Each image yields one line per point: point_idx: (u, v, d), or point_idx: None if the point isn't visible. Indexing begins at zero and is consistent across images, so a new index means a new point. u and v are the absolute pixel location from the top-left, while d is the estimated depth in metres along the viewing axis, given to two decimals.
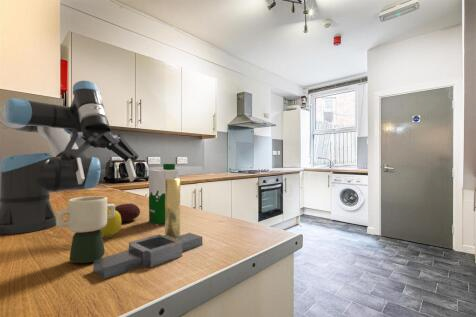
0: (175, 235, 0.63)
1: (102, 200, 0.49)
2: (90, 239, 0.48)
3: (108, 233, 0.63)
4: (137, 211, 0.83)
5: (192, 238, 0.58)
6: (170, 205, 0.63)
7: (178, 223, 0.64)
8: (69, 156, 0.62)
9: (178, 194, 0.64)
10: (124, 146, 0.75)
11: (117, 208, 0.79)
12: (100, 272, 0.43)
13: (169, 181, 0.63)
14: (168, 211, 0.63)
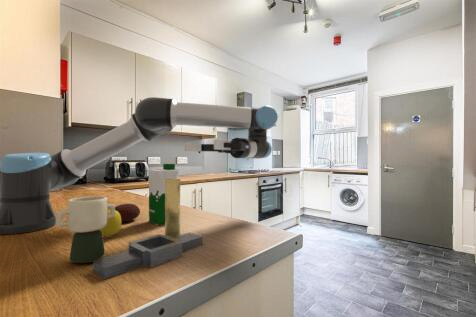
0: (175, 235, 0.63)
1: (102, 200, 0.49)
2: (90, 239, 0.48)
3: (108, 233, 0.63)
4: (137, 211, 0.83)
5: (192, 238, 0.58)
6: (170, 205, 0.63)
7: (178, 223, 0.64)
8: (235, 147, 0.72)
9: (178, 194, 0.64)
10: None
11: (117, 208, 0.79)
12: (100, 272, 0.43)
13: (169, 181, 0.63)
14: (168, 211, 0.63)
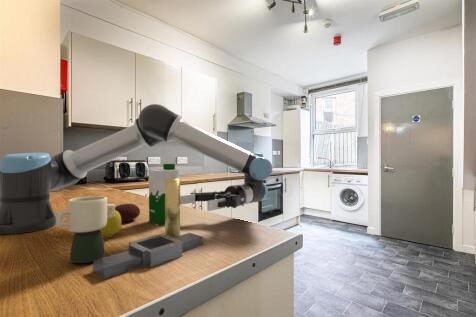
0: (175, 235, 0.63)
1: (102, 200, 0.49)
2: (90, 239, 0.48)
3: (108, 233, 0.63)
4: (137, 211, 0.83)
5: (192, 238, 0.58)
6: (170, 205, 0.63)
7: (178, 223, 0.64)
8: (230, 205, 0.70)
9: (178, 194, 0.64)
10: None
11: (117, 208, 0.79)
12: (100, 272, 0.43)
13: (169, 181, 0.63)
14: (168, 211, 0.63)
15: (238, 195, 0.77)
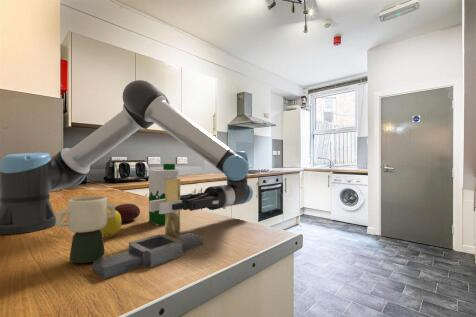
0: (175, 235, 0.63)
1: (102, 200, 0.49)
2: (90, 239, 0.48)
3: (108, 233, 0.63)
4: (137, 211, 0.83)
5: (192, 238, 0.58)
6: None
7: (178, 223, 0.64)
8: (187, 208, 0.64)
9: (178, 194, 0.64)
10: None
11: (117, 208, 0.79)
12: (100, 272, 0.43)
13: (169, 181, 0.63)
14: None
15: None
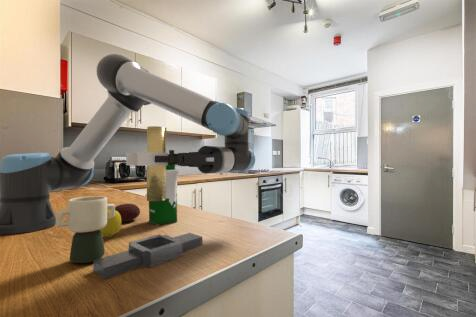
0: (159, 196, 0.51)
1: (102, 200, 0.49)
2: (90, 239, 0.48)
3: (108, 233, 0.63)
4: (137, 211, 0.83)
5: (192, 238, 0.58)
6: None
7: (163, 181, 0.52)
8: (174, 162, 0.51)
9: (163, 145, 0.52)
10: None
11: (117, 208, 0.79)
12: (100, 272, 0.43)
13: (152, 128, 0.51)
14: (150, 166, 0.51)
15: None
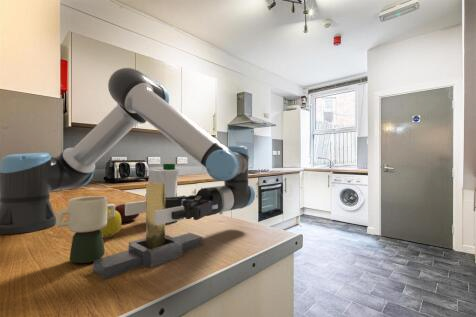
0: None
1: (102, 200, 0.49)
2: (90, 239, 0.48)
3: (108, 233, 0.63)
4: None
5: (192, 238, 0.58)
6: (152, 216, 0.50)
7: (162, 238, 0.51)
8: None
9: (162, 202, 0.51)
10: None
11: (117, 208, 0.79)
12: (100, 272, 0.43)
13: (151, 186, 0.50)
14: (150, 224, 0.50)
15: (210, 201, 0.57)
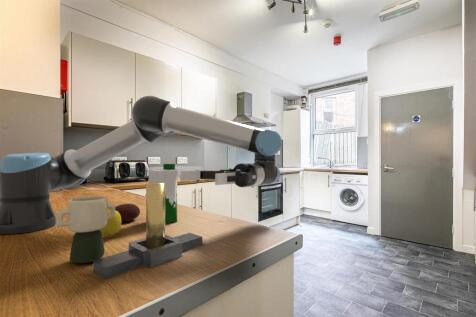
0: None
1: (102, 200, 0.49)
2: (90, 239, 0.48)
3: (108, 233, 0.63)
4: (137, 211, 0.83)
5: (192, 238, 0.58)
6: (152, 216, 0.50)
7: (162, 238, 0.52)
8: (241, 181, 0.61)
9: (162, 202, 0.52)
10: None
11: (117, 208, 0.79)
12: (100, 272, 0.43)
13: (150, 186, 0.51)
14: (150, 224, 0.50)
15: None
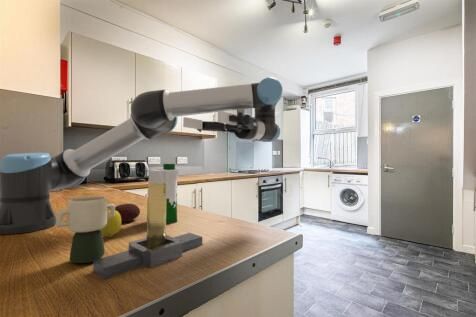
0: None
1: (102, 200, 0.49)
2: (90, 239, 0.48)
3: (108, 233, 0.63)
4: (137, 211, 0.83)
5: (192, 238, 0.58)
6: (153, 215, 0.50)
7: (163, 238, 0.52)
8: (242, 122, 0.62)
9: (164, 202, 0.52)
10: None
11: (117, 208, 0.79)
12: (100, 272, 0.43)
13: (152, 186, 0.51)
14: (150, 224, 0.50)
15: None
